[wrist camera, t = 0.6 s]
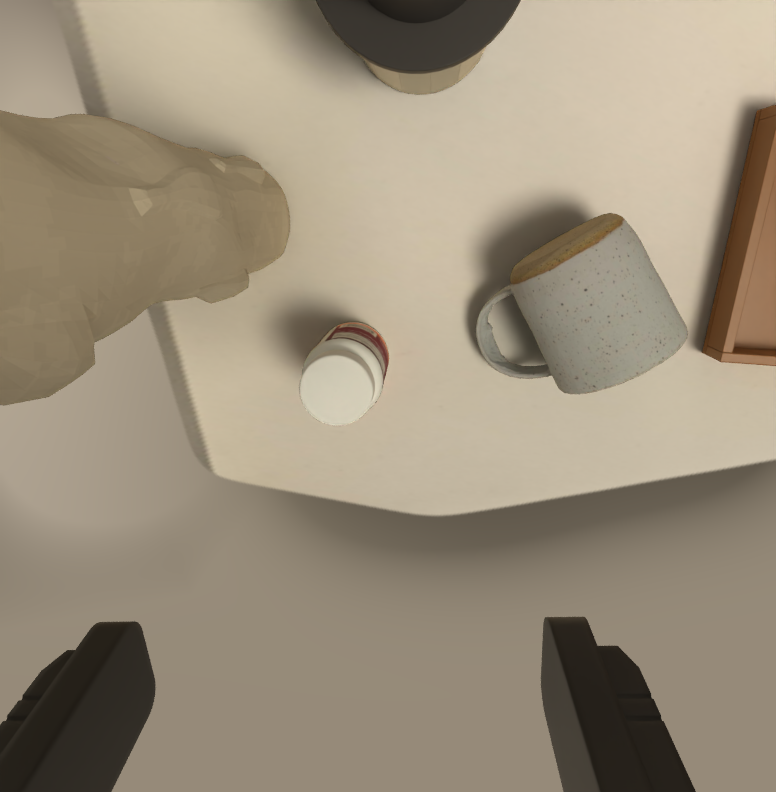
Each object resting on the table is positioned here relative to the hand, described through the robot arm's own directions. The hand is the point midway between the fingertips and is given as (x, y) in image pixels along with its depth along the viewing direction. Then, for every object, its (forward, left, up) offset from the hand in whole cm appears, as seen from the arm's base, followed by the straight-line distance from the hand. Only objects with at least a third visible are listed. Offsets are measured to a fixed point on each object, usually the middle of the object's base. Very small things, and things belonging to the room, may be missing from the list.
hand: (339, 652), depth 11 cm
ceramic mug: (-3, +10, -29) cm, 30 cm away
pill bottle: (+1, -3, -29) cm, 29 cm away
